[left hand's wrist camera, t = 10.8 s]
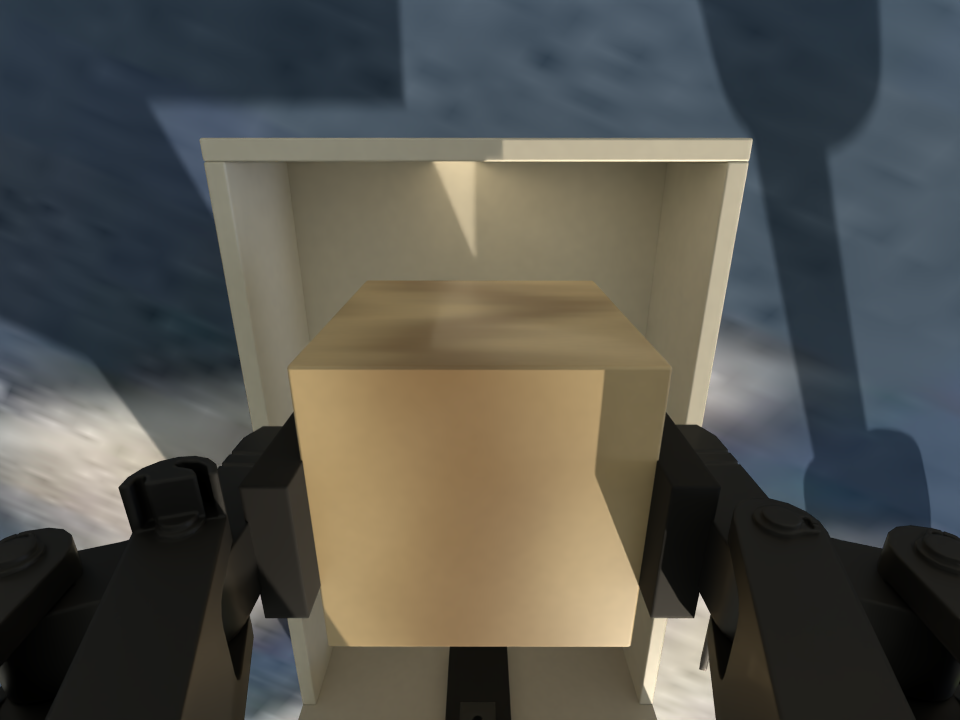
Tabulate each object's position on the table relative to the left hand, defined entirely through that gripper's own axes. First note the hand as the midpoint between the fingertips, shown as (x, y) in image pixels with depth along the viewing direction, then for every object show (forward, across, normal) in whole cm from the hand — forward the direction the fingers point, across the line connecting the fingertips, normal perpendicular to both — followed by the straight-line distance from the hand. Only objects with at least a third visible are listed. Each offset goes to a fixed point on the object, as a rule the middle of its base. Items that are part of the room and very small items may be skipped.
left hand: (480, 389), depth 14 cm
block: (0, 0, 0) cm, 0 cm away
